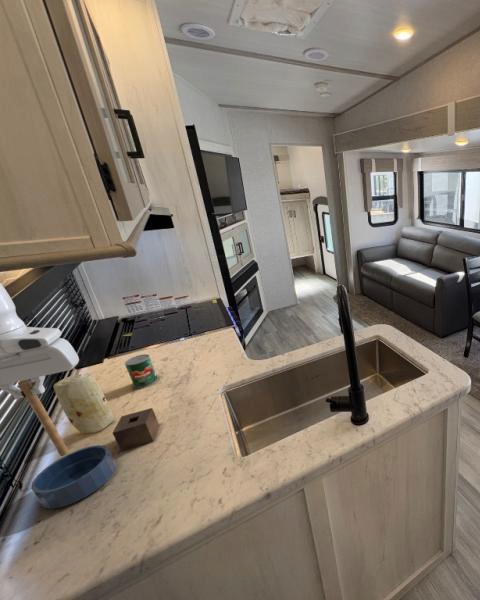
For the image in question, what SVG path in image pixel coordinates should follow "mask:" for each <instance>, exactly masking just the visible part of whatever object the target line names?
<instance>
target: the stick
mask: <svg viewBox="0 0 480 600" xmlns="http://www.w3.org/2000/svg"><path fill="white" fill-rule="evenodd" d="M17 384H18V386H19V388H20V389H21V390H22V391H23V393H24V395H25V396H26V397H25V398H26V400H27V402H28V403H29V404H30V405H29V406H30V407H31V408H32V410H33V412H34V413H35V415H36V417H37V419H38V420H39V422H40V424H41V425H42V428H43V429H44V431H45V432H46V434H47V436H48V438H49V439H50V441H51V442H52V444H53V446H54V448H55V449H56V451H57V453H58V454H59V456H60V457H64V456H66V455H68V454H70V450H69V449H68V447H67V445H66V443H65V442H64V440H63V439H62V437H61V434H60V433H59V431H58V429H57V427H56V426H55V424H54V422H53V421H52V419H51V417H50V416H49V414H48V412H47V410H46V408H45V407H44V404H43V403H42V402H41V400H40V398H39V396H38V395H32V392H31V391H30V389H31V388H32V387H33V386H32V384H31V382H30V379H27V380H23V381H18V382H17Z"/></svg>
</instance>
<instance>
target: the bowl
mask: <svg viewBox="0 0 480 600" xmlns="http://www.w3.org/2000/svg"><path fill="white" fill-rule="evenodd" d="M116 469H117V463H116V460H115V459H114V457H113V454H112V452H111V451H110V449H109V447H107V446H106V445H100V444H97V445H91V446H86V447H83V448H79V449H77V450H75V451H73V452H69V453H67V454H66V455H64V456H61V457H60V458H59V459H57V460H55V461H54V462H52V463H51V464H49V465H48V466H46V467H45V468H44V469H43V470H42V471H40V472H39V473H38V474H37V475H36V477H35V478H34V479H33V481H32V482H31V485H30V486H31V487H30V489H31V491H32V493H33V494H34V496H35V497H36V498H37V501H38V502H39V503H40V505H41V506H42V507H43V508H44V509H49V510H50V509H51V510H53V509H59V508H64V507H66V506H69V505H72V504H74V503H76V502H78V501H80V500H82V499H84V498H86V497H88V496H89V495H91V494H93V493H95V492H96V491H97V490H99V489H100V488H101V487H102V486H103V485H104V484H106V483H107V482H108V481H109V480H110V478H111V477H112V476H113V475H114V473H115V472H116Z"/></svg>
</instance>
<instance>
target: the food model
mask: <svg viewBox="0 0 480 600" xmlns="http://www.w3.org/2000/svg"><path fill="white" fill-rule="evenodd" d="M53 390H54V393H55V395H56V398H57V401H58V402H59V405H60V407H61V408H62V411H63V412H64V414H65V416H66V417H67V419H68V421H69V423H70V424H71V425H72V426H73V427H74V429H76V430H77V431H78V432H79V433H81V434H88V433H93V434H95V433H98V432H101V431H103V430H104V429H105V428H106V427H108V426H109V425H111V423H113V422H114V421H115V416H114V414H113V413H112V409H111V407H110V404H109V402H108V400H107V398H106V396H105V394H104V391H103V389H102V388H101V386H100V385H99V383H98V382H97V379H96V378H95V376H94V374H93V373H89V372H87V373H86V372H85V373H80V374H74V375H70V376H67V377H64V378H63V379H61V380H59V381H57V382H55V383H54V384H53Z"/></svg>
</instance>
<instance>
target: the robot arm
mask: <svg viewBox="0 0 480 600" xmlns="http://www.w3.org/2000/svg"><path fill="white" fill-rule="evenodd" d="M16 309H17V308H16V305H15V303H14V301H13V299H12V297H11V296H10V294H9V293H8V291H7V290H6V288H5V286H4V285H3V284H2V283H1V282H0V390H1V391H3V392H6V393H7V394H10V395H12V397H13V398H14V400H16V401H17V400H20V399H24V398H26V396H25V395H24V393H23V391H22V390H21V388H20V387H18V386H16V385H15V383H18V382H20V381H23V380H27V379H28V380H30V381H31V383H35V384H34V386H32V388H31V389H30V391H31V392H32V395H37V396H38V395H41V394H44V393H45V392H46V388H45V386H44V382H45V379H46V376H49V375H54V374H59V373H63V372H67V371H71V370H73V369H74V368H75V367H76V366H77V365H78V364H79V362H80V357H79V355H78V353H77V352H76V350H75V348H74V346H73V345H71V343H70V342H69V341H68V340H67V339H65V338H62V337H61V336H62V331H61V330H60V329H59V328H56V327H35V326H34V327H33V326H26V323H25V322H24V320H22V319H21V318H20V317H19V315H18V314H17V311H16Z"/></svg>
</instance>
